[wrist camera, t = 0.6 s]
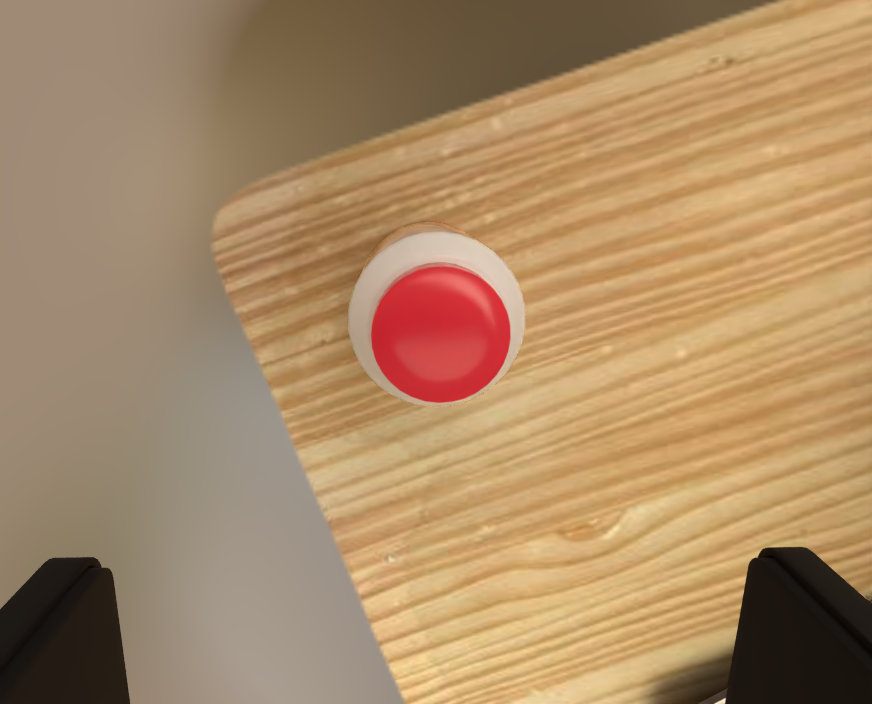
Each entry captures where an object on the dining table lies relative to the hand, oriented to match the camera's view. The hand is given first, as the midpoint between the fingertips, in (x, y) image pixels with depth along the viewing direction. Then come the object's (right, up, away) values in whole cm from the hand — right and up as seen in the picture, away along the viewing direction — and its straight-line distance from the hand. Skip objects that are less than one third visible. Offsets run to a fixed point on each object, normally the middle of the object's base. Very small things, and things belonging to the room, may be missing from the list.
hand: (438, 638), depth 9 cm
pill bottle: (0, +7, +18) cm, 19 cm away
